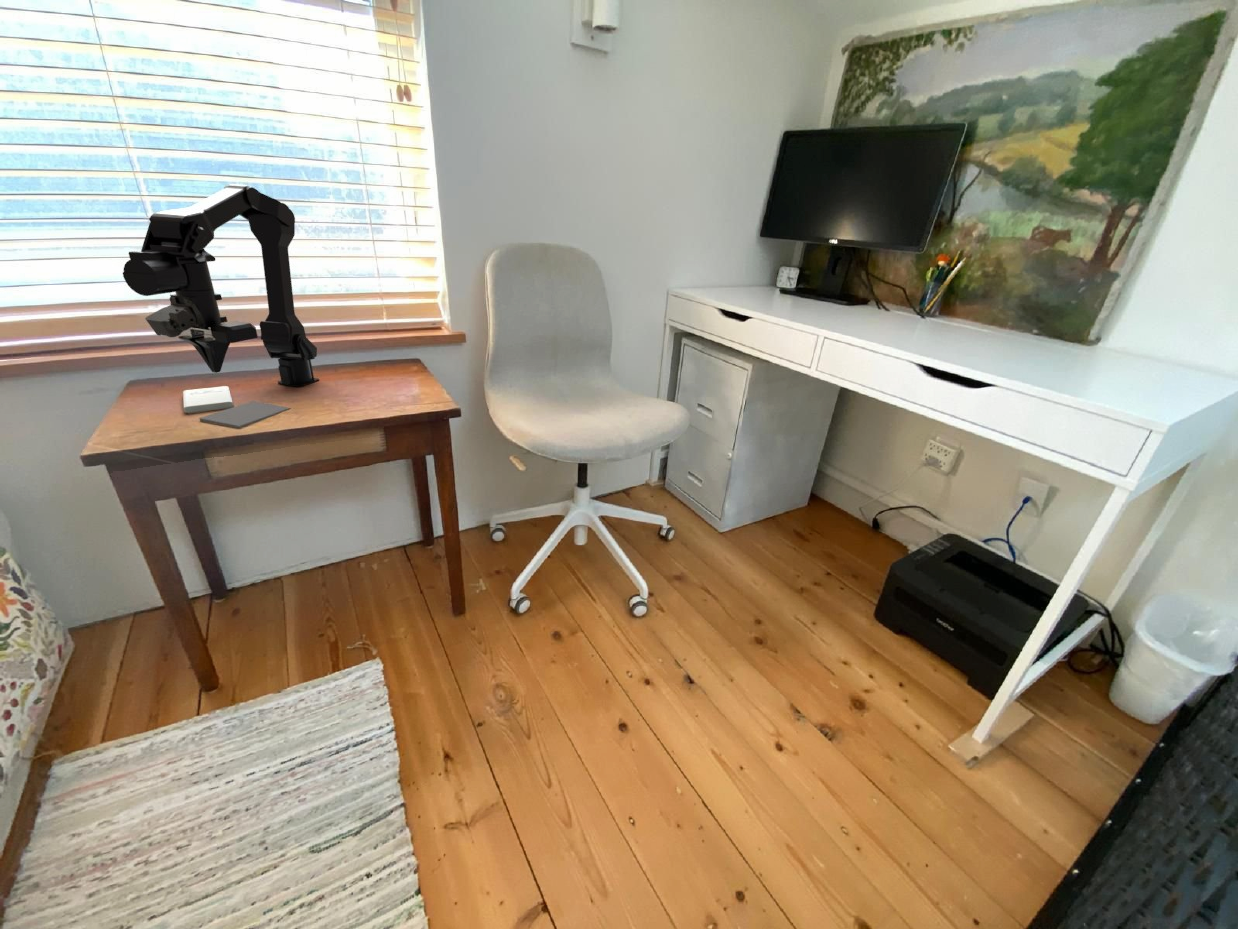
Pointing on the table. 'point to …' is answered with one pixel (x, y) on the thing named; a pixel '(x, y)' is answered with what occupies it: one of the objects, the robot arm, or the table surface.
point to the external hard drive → (207, 399)
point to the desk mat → (244, 414)
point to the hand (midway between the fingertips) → (216, 372)
